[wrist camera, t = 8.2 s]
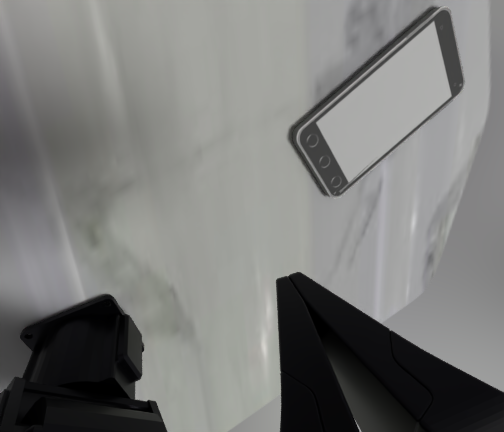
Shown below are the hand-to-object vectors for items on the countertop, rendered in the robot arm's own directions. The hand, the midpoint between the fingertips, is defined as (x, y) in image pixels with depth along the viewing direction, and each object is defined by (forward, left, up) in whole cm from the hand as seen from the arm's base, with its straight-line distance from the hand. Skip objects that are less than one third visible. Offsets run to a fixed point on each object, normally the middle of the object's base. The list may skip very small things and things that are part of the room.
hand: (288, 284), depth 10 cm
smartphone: (+15, +1, -14) cm, 20 cm away
